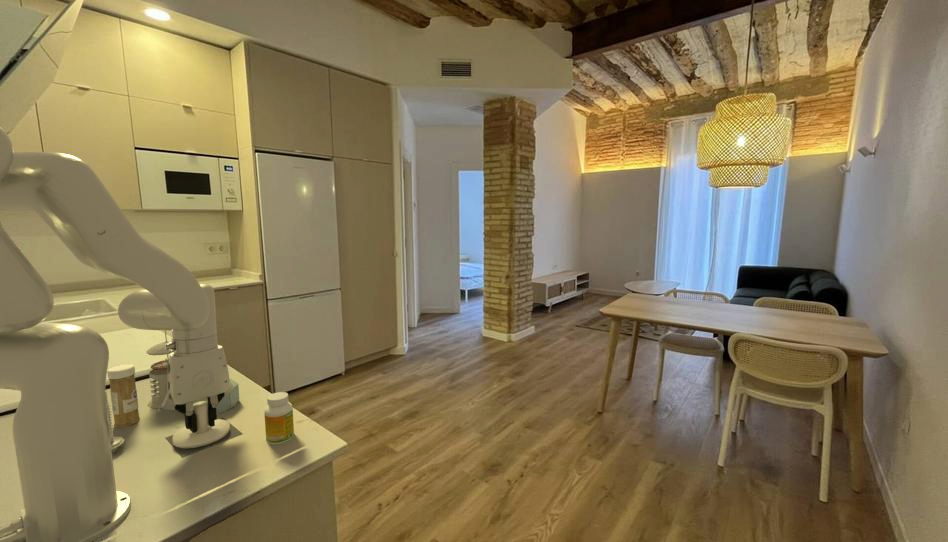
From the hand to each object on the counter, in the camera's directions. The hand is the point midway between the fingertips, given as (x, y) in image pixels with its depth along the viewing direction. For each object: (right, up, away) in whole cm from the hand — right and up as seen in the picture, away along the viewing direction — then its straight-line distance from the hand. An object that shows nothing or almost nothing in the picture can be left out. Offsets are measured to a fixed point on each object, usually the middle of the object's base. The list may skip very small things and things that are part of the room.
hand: (201, 426), depth 83 cm
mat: (0, -3, +1) cm, 3 cm away
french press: (-20, 0, +18) cm, 26 cm away
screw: (-15, -3, -5) cm, 16 cm away
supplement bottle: (+16, -3, +1) cm, 17 cm away
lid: (0, -2, 0) cm, 2 cm away
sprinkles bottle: (-21, -2, +6) cm, 22 cm away
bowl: (-7, -1, +14) cm, 16 cm away
